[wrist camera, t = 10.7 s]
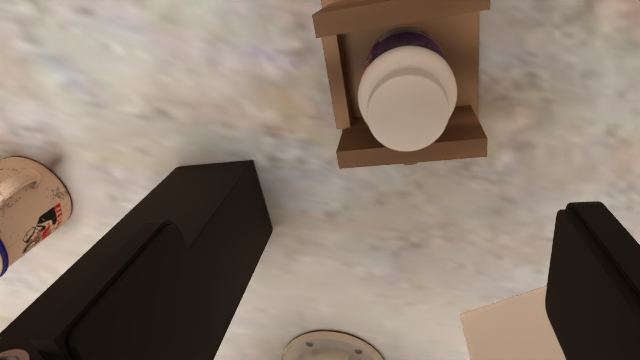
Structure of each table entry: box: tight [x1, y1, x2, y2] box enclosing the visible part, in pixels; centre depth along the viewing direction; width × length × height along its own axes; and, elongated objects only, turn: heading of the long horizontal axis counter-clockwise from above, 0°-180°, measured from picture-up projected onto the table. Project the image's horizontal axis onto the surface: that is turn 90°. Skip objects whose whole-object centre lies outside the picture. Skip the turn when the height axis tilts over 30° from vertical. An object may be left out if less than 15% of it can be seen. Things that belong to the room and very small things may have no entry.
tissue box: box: [0, 161, 272, 360], centre depth 25 cm, size 8×8×28 cm
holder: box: [312, 0, 490, 169], centre depth 25 cm, size 12×10×7 cm
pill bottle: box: [358, 27, 457, 151], centre depth 23 cm, size 5×5×10 cm
